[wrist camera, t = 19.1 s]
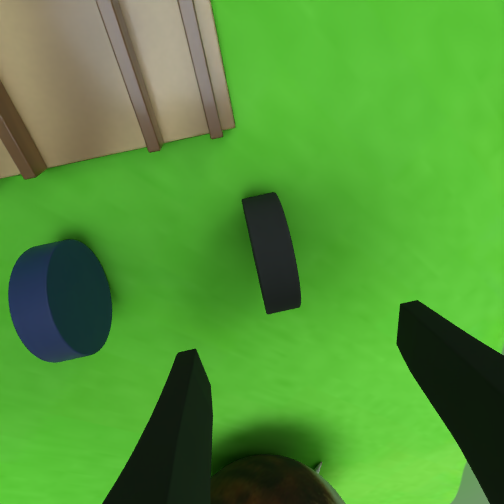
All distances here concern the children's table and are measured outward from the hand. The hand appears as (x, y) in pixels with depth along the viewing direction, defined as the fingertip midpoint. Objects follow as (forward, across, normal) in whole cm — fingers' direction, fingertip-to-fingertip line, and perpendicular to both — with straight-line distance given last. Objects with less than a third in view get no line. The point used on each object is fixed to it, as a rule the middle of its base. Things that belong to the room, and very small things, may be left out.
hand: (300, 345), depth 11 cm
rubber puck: (+10, 0, 0) cm, 10 cm away
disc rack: (+10, +7, -9) cm, 16 cm away
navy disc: (+10, +11, +1) cm, 15 cm away
